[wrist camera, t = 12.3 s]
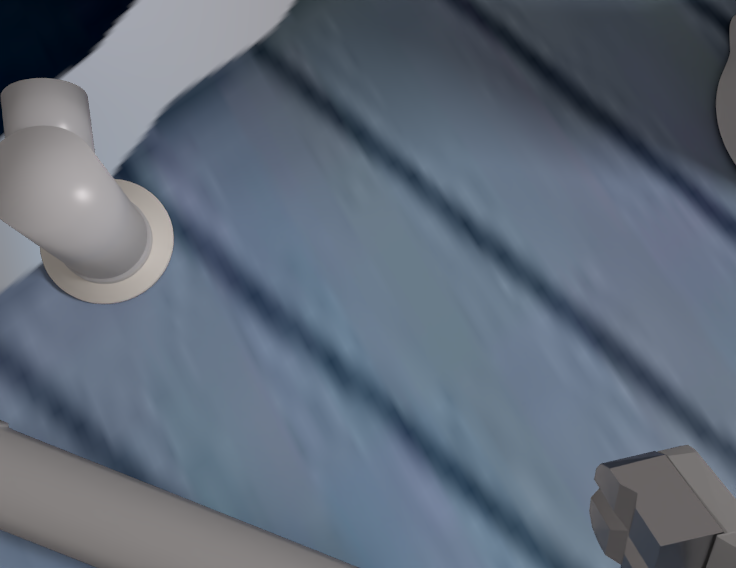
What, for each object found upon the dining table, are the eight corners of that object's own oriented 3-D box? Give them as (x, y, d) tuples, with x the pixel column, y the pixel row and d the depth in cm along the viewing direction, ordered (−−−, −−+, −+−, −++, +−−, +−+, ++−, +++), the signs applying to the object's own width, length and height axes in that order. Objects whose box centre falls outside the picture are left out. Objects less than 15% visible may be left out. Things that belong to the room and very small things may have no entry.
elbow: (158, 275, 42) (109, 224, 32) (66, 291, 42) (-16, 243, 31) (141, 158, 44) (89, 71, 33) (52, 171, 43) (-31, 86, 32)
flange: (140, 160, 44) (138, 158, 44) (195, 267, 43) (195, 266, 43) (20, 214, 43) (18, 213, 42) (74, 327, 42) (73, 326, 41)
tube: (421, 576, 37) (-13, 403, 36) (392, 685, 34) (-79, 499, 34) (396, 587, 41) (10, 433, 41) (369, 684, 39) (-46, 520, 38)
